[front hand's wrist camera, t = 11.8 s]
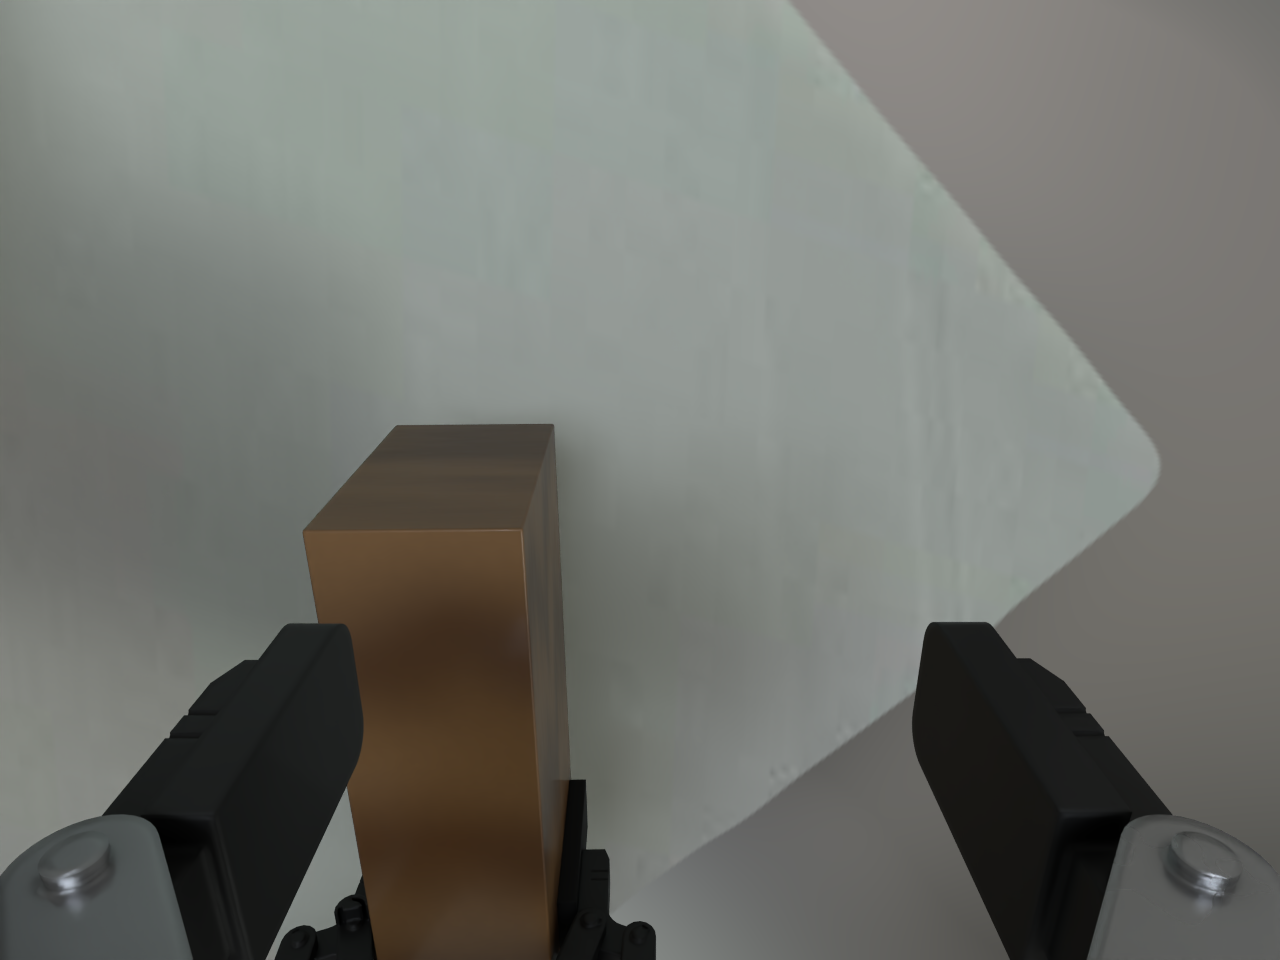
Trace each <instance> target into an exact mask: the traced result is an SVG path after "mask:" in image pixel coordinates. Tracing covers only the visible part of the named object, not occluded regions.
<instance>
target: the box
mask: <svg viewBox="0 0 1280 960" xmlns="http://www.w3.org/2000/svg"><path fill="white" fill-rule="evenodd" d="M303 538H304V543H305V549H306V555H307V560H308V566H309V572H310V578H311V583H312V589H313V595H314V601H315V606H316V612H317V618H318V623H319V624H345V625H346V626H347V627H348V629H349V631H350V634H351V639H352V644H353V651H354V658H355V664H356V671H357V678H358V684H359V691H360V698H361V704H362V711H363V719H364V732H363V742H362V748H361V752H360V756H359V759H358V762H357V765H356V767H355V769H354V771H353V773H352V776H351V778H350V780H349V782H348V784H347V789H348V795H349V801H350V807H351V812H352V818H353V824H354V829H355V835H356V841H357V847H358V852H359V858H360V864H361V869H362V875H363V881H364V887H365V892H366V898H367V904H368V910H369V915H370V921H371V927H372V932H373V938H374V944H375V950H376V955H377V960H556V957H557V955H558V953H559V951H560V946H559V929H558V912H557V897H558V887H559V878H560V868H561V858H562V848H563V839H564V829H565V819H566V809H567V800H568V790H569V780H571V770H570V749H569V728H568V707H567V686H566V665H565V644H564V623H563V602H562V581H561V560H560V539H559V518H558V497H557V476H556V455H555V434H554V425H553V424H489V425H397V426H395V427H394V429H393V430H392V431H391V432H390V433H389V434H388V435H387V436H386V438H385V439H384V440H383V441H382V442H381V443H380V444H379V445H378V447H377V448H376V449H375V450H374V451H373V452H372V453H371V455H370V456H369V457H368V458H367V459H366V460H365V461H364V462H363V464H362V465H361V466H360V467H359V468H358V469H357V470H356V471H355V473H354V474H353V475H352V476H351V477H350V478H349V479H348V480H347V482H346V483H345V484H344V485H343V486H342V487H341V488H340V489H339V491H338V492H337V493H336V494H335V495H334V496H333V497H332V498H331V500H330V501H329V502H328V503H327V504H326V505H325V506H324V507H323V509H322V510H321V511H320V512H319V513H318V514H317V515H316V516H315V518H314V519H313V520H312V521H311V522H310V523H309V524H308V525H307V527H306V528H305V529H304V530H303Z"/></svg>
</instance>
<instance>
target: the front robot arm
mask: <svg viewBox="0 0 1280 960" xmlns="http://www.w3.org/2000/svg"><path fill="white" fill-rule="evenodd" d="M363 732H364V719H363V711H362V704H361V698H360V691H359V684H358V678H357V671H356V664H355V658H354V651H353V644H352V639H351V634H350V631H349V629H348V627H347V626H346V625H345V624H287V625H286V626H284V627H283V628H282V629H281V631H280V632H279V633H278V635H277V636H276V637H275V639H274V640H273V641H272V643H271V644H270V645H269V647H268V648H267V649H266V650H265V652H264V653H263V654H262V656H261V657H260V658H259V660H244V661H243V662H241V663H240V664H238V665H237V666H235V667H234V668H232V669H231V670H229V671H228V672H226V673H225V674H223V675H222V676H220V677H219V678H217V679H216V680H214V681H213V682H211V683H210V684H209V686H208V687H207V688H206V689H205V691H204V692H203V693H202V694H201V695H200V697H199V698H198V699H197V700H196V702H195V703H194V704H193V705H192V706H191V708H190V709H189V713H188V715H184V716H183V717H182V719H181V720H180V721H179V722H178V723H177V725H176V726H175V727H174V728H173V730H172V731H171V732H170V738H165V739H164V741H163V742H162V743H161V744H160V745H159V747H158V748H157V749H156V750H155V752H154V753H153V754H152V755H151V756H150V758H149V759H148V760H147V761H146V763H145V764H144V765H143V766H142V767H141V769H140V770H139V771H138V772H137V774H136V775H135V776H134V777H133V778H132V780H131V781H130V782H129V783H128V784H127V786H126V787H125V788H124V789H123V791H122V792H121V793H120V794H119V795H118V797H117V798H116V799H115V800H114V802H113V803H112V804H111V805H110V806H109V808H108V809H107V810H106V811H105V813H104V814H103V815H102V816H100V817H95V818H91V819H87V820H84V821H81V822H78V823H75V824H72V825H70V826H68V827H65V828H63V829H61V830H58V831H56V832H55V833H53V834H51V835H49V836H47V837H45V838H43V839H42V840H40V841H39V842H37V843H36V844H34V845H33V846H31V847H30V848H29V849H27V850H26V851H25V852H23V853H22V854H21V855H20V856H18V857H17V858H16V859H15V860H14V861H13V862H12V863H11V864H10V865H9V866H8V867H7V869H6V870H5V871H4V872H3V873H2V874H1V876H0V960H265V959H266V957H267V955H268V953H269V951H270V949H271V946H272V944H273V942H274V940H275V938H276V936H277V934H278V932H279V929H280V927H281V925H282V923H283V921H284V919H285V917H286V914H287V912H288V910H289V908H290V906H291V904H292V902H293V899H294V897H295V895H296V893H297V891H298V889H299V887H300V885H301V882H302V880H303V878H304V876H305V874H306V872H307V870H308V867H309V865H310V863H311V861H312V859H313V857H314V855H315V852H316V850H317V848H318V846H319V844H320V842H321V840H322V838H323V835H324V833H325V831H326V829H327V827H328V825H329V823H330V820H331V818H332V816H333V814H334V812H335V810H336V808H337V805H338V803H339V801H340V799H341V797H342V795H343V793H344V791H345V788H346V786H347V784H348V782H349V780H350V778H351V776H352V773H353V771H354V769H355V767H356V765H357V762H358V759H359V756H360V752H361V748H362V742H363ZM912 733H913V742H914V747H915V752H916V755H917V758H918V761H919V764H920V766H921V768H922V770H923V772H924V774H925V777H926V779H927V781H928V783H929V785H930V787H931V790H932V792H933V794H934V796H935V798H936V800H937V803H938V805H939V807H940V809H941V811H942V813H943V816H944V818H945V820H946V822H947V824H948V826H949V829H950V831H951V833H952V835H953V837H954V839H955V842H956V844H957V846H958V848H959V850H960V852H961V855H962V857H963V859H964V861H965V863H966V865H967V867H968V870H969V872H970V874H971V876H972V878H973V880H974V882H975V885H976V887H977V889H978V891H979V893H980V895H981V898H982V900H983V902H984V904H985V906H986V909H987V911H988V913H989V915H990V917H991V919H992V922H993V924H994V926H995V928H996V930H997V932H998V934H999V937H1000V939H1001V941H1002V943H1003V945H1004V947H1005V950H1006V952H1007V954H1008V956H1009V958H1010V960H1280V876H1279V874H1278V873H1277V872H1276V871H1275V870H1274V869H1273V867H1272V866H1271V865H1270V864H1269V863H1268V862H1267V861H1266V860H1265V859H1264V858H1263V857H1261V856H1260V855H1259V854H1258V853H1257V852H1255V851H1254V850H1253V849H1251V848H1250V847H1249V846H1247V845H1246V844H1244V843H1243V842H1241V841H1240V840H1238V839H1237V838H1235V837H1233V836H1231V835H1229V834H1227V833H1225V832H1224V831H1222V830H1219V829H1217V828H1215V827H1212V826H1210V825H1208V824H1205V823H1202V822H1199V821H1196V820H1193V819H1189V818H1185V817H1180V816H1173V815H1172V814H1171V812H1170V811H1169V810H1168V809H1167V807H1166V806H1165V805H1164V804H1163V803H1162V801H1161V800H1160V799H1159V798H1158V796H1157V795H1156V794H1155V793H1154V791H1153V790H1152V789H1151V788H1150V786H1149V785H1148V784H1147V783H1146V782H1145V780H1144V779H1143V778H1142V777H1141V775H1140V774H1139V773H1138V772H1137V771H1136V769H1135V768H1134V767H1133V766H1132V764H1131V763H1130V762H1129V761H1128V759H1127V758H1126V757H1125V756H1124V754H1123V753H1122V752H1121V751H1120V750H1119V748H1118V747H1117V746H1116V745H1115V743H1114V742H1113V741H1112V740H1111V739H1110V737H1109V736H1105V735H1104V730H1103V729H1102V727H1101V726H1100V725H1099V724H1098V722H1097V721H1096V720H1095V719H1094V718H1093V716H1092V715H1091V714H1088V713H1086V708H1085V706H1084V705H1083V704H1082V703H1081V702H1080V700H1079V699H1078V698H1077V697H1076V695H1075V694H1074V693H1073V692H1072V690H1071V689H1070V688H1069V687H1068V686H1067V684H1066V683H1065V682H1064V681H1063V680H1061V679H1060V678H1058V677H1057V676H1055V675H1054V674H1052V673H1051V672H1049V671H1048V670H1046V669H1045V668H1044V667H1042V666H1041V665H1039V664H1038V663H1036V662H1035V661H1033V660H1032V659H1030V658H1016V657H1015V656H1014V654H1013V653H1012V652H1011V650H1010V649H1009V648H1008V646H1007V645H1006V644H1005V642H1004V641H1003V640H1002V638H1001V637H1000V636H999V634H998V633H997V632H996V630H995V629H994V628H993V627H992V626H991V625H990V624H989V623H987V622H932V623H930V624H929V625H928V627H927V629H926V632H925V635H924V641H923V647H922V654H921V661H920V668H919V674H918V681H917V688H916V695H915V701H914V708H913V716H912Z"/></svg>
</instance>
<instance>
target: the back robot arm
mask: <svg viewBox="0 0 1280 960" xmlns="http://www.w3.org/2000/svg"><path fill="white" fill-rule="evenodd" d="M587 827H588V826H587V799H586V780H569V790H568V800H567V809H566V819H565V829H564V839H563V848H562V858H561V868H560V878H559V887H558V897H557V912H558V929H559V946H560V951H559V953H558V955H557V957H556V960H656V935H655V930H654V929H653V927H652V926H651V925H649V924H648V923H646V922H642V921H638V922H633V923H631V924H629V925H628V926H624V925H621V924H618V923H616V922H615V921H614V920H613V919H612V918H611V917H610V915H609V901H610V862H609V857H608V855H607V853H606V851H605V849H594V850H586V841H587ZM334 914H335V919H336V925H335V926H333V927H330V928H327V929H324V930H321V931H317V932H316V931H315V929H314V928H312V927H311V926H306V925H303V926H298V927H296V928H294V929H292V930H290V931H289V932H288V933H287V934H286V935H285V936H284V938H283V939H282V941H281V944H280V946H279V949H278V952H277V954H276V957H275V960H377V955H376V950H375V944H374V938H373V932H372V927H371V921H370V915H369V910H368V904H367V898H366V892H365V887H364V881H363V875H362V877H361V880H360V883H359V885H358V888H357V890H356V893H355V895H350V896H348V897H345V898H344V899H343V900H341V901H340V902H339V903H338V905H337V906H336V908H335V911H334Z"/></svg>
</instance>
